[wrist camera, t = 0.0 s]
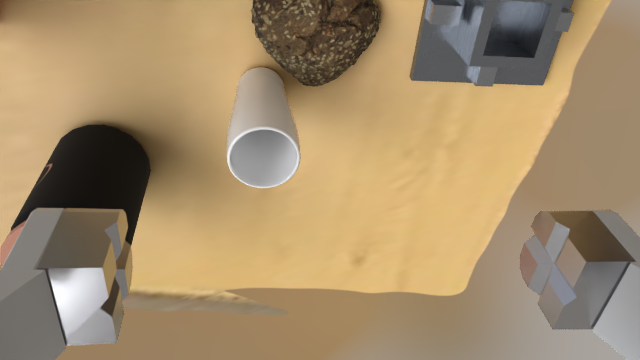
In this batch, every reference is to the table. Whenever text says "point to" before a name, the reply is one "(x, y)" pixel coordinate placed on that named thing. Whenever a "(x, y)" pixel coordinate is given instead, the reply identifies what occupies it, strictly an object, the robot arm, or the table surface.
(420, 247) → the table surface
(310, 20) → the bread roll
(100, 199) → the coffee jar
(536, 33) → the hollow box on baseplate
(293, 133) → the drinking glass
